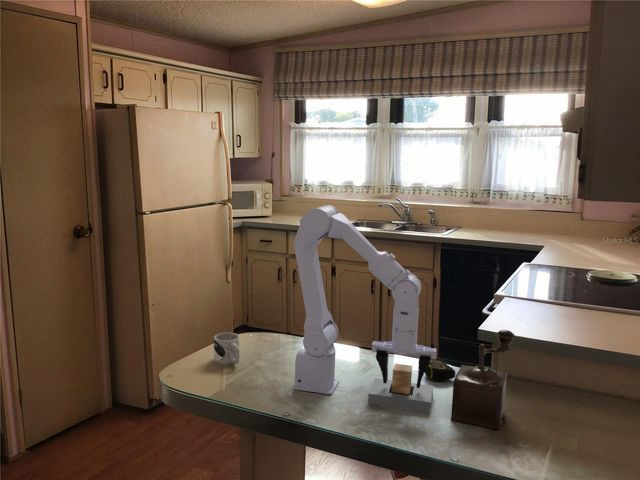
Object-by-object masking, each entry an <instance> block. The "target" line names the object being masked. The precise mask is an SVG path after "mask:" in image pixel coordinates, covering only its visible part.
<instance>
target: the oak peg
mask: <svg viewBox="0 0 640 480" xmlns="http://www.w3.org/2000/svg"><path fill="white" fill-rule="evenodd" d="M412 371H413V365H408V364H402V363H401V364H400V363H394V365H393V368H392V392H391V393H393V394H400V395H407V396H410V393H411V383H412V374H413V373H412Z"/></svg>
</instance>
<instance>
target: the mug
mask: <svg viewBox="0 0 640 480" xmlns="http://www.w3.org/2000/svg"><path fill="white" fill-rule="evenodd" d="M213 361H214V363H215V364H216V365H220V366H228V365H234V364H235V365H237V364H239V363H240V335H239V334H237V333H233V332H220V333H218V334H214V336H213Z"/></svg>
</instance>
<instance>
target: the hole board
mask: <svg viewBox="0 0 640 480" xmlns="http://www.w3.org/2000/svg"><path fill="white" fill-rule="evenodd" d="M368 391H369V392H368V395H367V396H368V397H367V398H368V400H367V404H368V405H374V406H380V407H381V406H382V407H388V408H393V407H395V408H394V409H400V408H402V410H407V409H408V411H409V410H410V411H413V412H414V411H415V412H422V413H428V414H429V413H430V414H431V409H432V402H433V396H434V385H429V384H428V385H427V384H422V383H421V384H420V388H417V383H414V382H411V393H410V395H411V396H407V395H400V394H393V393H391V392H392V380H391V379H388V380H387V383H383V378H376V377H375V378H374V380H373V382H372V384H371V387H370V388H369V390H368Z"/></svg>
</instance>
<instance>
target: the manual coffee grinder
mask: <svg viewBox="0 0 640 480" xmlns="http://www.w3.org/2000/svg"><path fill="white" fill-rule="evenodd" d="M496 338H497V340H498V341H499V342H498V343H499V344H498V346H497V348H486V345H485V344H483V343H481V344H480V345H479V346H478V347H479V350H478V354H479V363H478V365H475V366H472V365H464V364H461V366H460V368H459V369H458V371H457V372H456V373H455V377H454V378H453V381H452V382H453V384H452V385H453V386H452V387H453V388H452V400H451V413H450V421H453V422H457V423H460V424H465V425H469V426H473V427H478V428H482V429H485V430H486V429H487V430H492V431H498V432H499V431H500V430H501V427H502V425H503V423H504V422H505V421H506V417H507V415H506V414H505V404H506V403H505V401H506V400H505V399H506V389H507V378H508V377H507V375H508V373H507V372H505V371H500V370H499V369H492V368H490V367H489V366H485V365H484V364H485V363H484V362H485V355H486V354H487V353H500V352H502V353H505V352H509V351H511V350H512V349H511V344H512V343H513V341H515V338H516V336H515V333H513V332H512V331H511V330H508V329H501V330H499V331H498V332H497V333H496Z"/></svg>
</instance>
